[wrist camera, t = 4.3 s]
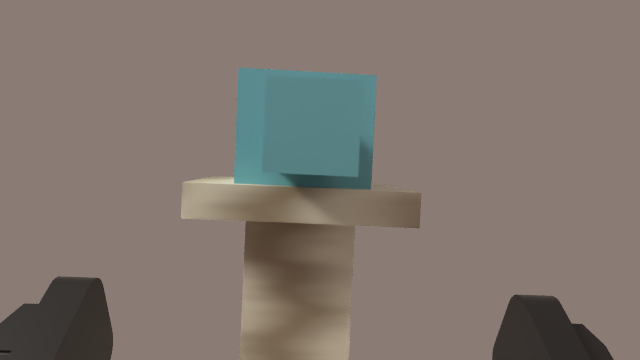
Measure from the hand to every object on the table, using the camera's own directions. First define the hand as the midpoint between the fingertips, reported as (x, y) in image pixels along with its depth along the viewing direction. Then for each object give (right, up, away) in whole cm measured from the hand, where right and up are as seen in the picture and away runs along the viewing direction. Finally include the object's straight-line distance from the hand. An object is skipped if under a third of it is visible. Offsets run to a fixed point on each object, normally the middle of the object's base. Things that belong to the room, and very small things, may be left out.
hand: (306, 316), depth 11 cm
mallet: (0, +2, +12) cm, 12 cm away
